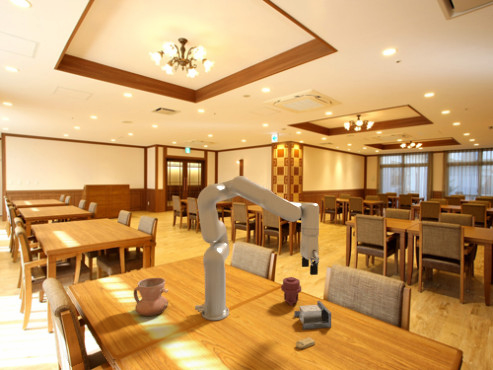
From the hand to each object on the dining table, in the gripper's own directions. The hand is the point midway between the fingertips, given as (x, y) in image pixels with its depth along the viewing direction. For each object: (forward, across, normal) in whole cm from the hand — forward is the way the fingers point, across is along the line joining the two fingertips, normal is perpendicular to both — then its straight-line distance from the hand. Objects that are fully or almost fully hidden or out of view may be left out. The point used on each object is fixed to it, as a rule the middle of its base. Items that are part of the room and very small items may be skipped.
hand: (309, 270), depth 116 cm
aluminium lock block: (+22, 0, 0) cm, 23 cm away
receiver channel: (+22, 0, +1) cm, 22 cm away
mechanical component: (+23, -18, -2) cm, 29 cm away
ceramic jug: (+23, -19, -70) cm, 76 cm away
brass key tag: (+22, +15, -7) cm, 28 cm away
